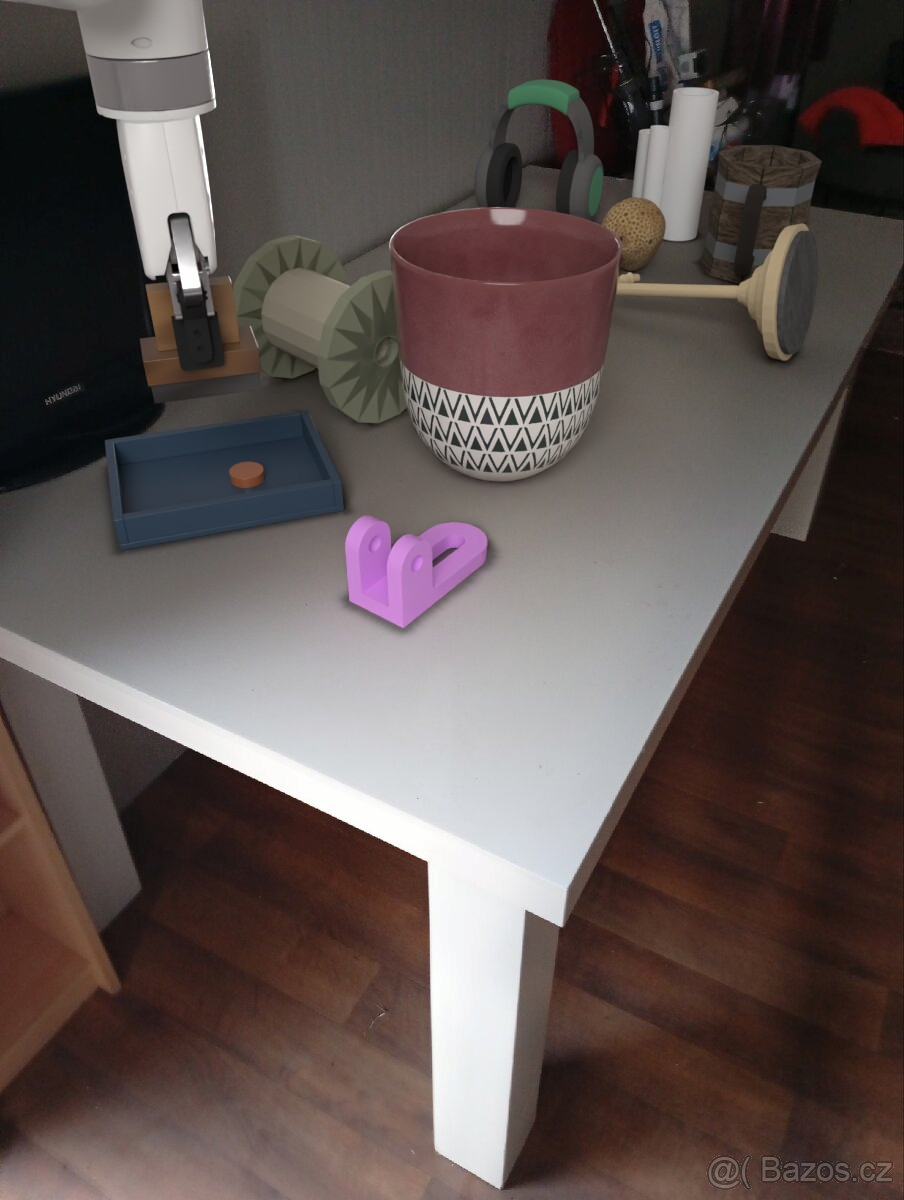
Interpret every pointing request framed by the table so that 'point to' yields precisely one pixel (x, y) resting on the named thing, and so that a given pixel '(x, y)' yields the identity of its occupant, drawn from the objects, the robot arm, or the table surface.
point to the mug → (755, 206)
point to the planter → (503, 333)
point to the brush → (183, 385)
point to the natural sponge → (636, 230)
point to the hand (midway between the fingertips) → (199, 350)
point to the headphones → (504, 162)
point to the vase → (678, 161)
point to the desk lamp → (762, 291)
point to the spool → (323, 325)
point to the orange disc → (246, 474)
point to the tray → (218, 478)
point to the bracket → (408, 566)
